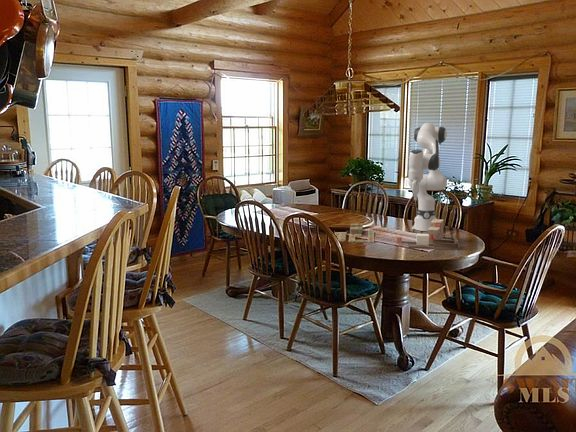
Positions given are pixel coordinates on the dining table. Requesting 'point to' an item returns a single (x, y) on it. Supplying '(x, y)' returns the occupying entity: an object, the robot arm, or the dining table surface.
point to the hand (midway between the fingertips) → (415, 198)
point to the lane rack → (438, 245)
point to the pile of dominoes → (355, 234)
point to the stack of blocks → (436, 230)
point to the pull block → (417, 240)
